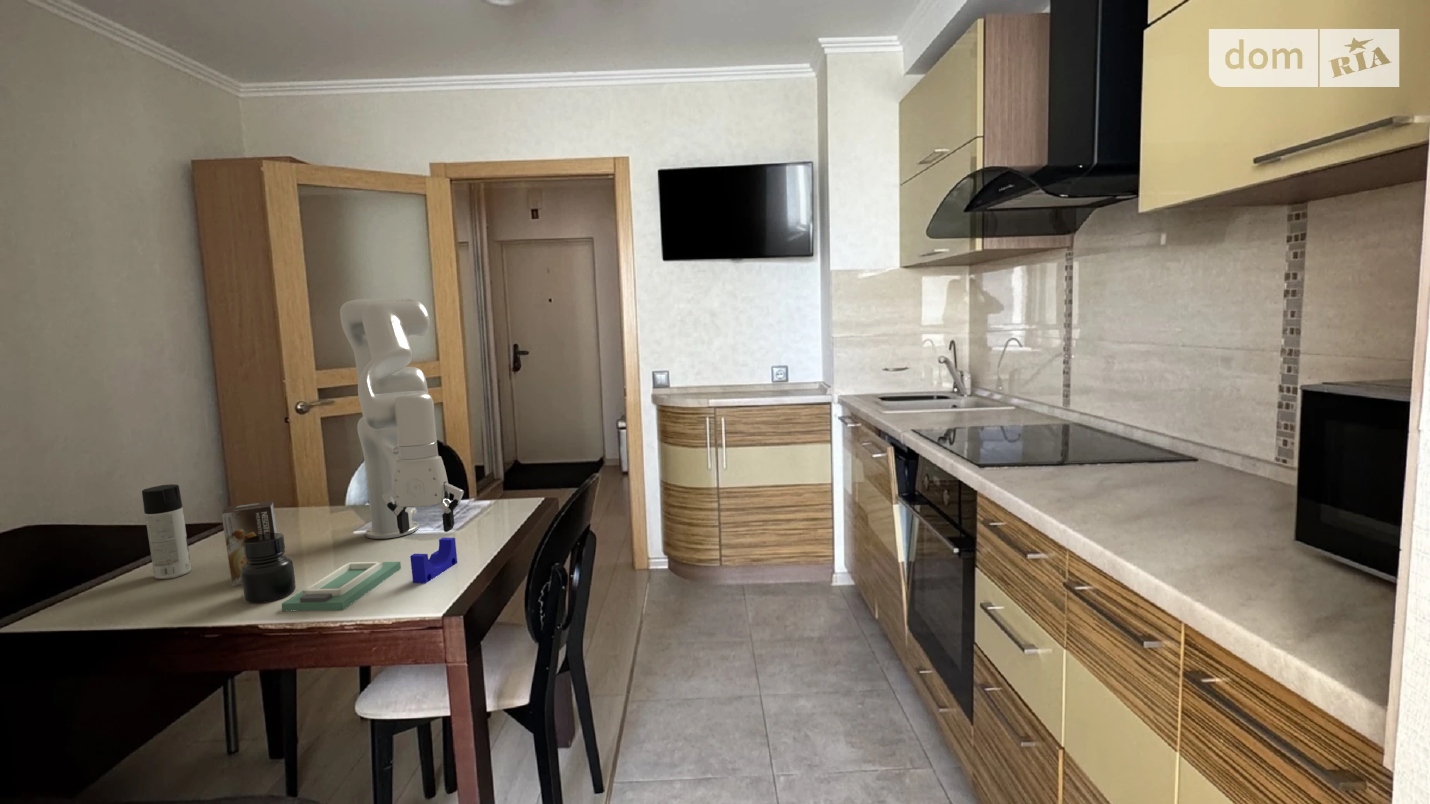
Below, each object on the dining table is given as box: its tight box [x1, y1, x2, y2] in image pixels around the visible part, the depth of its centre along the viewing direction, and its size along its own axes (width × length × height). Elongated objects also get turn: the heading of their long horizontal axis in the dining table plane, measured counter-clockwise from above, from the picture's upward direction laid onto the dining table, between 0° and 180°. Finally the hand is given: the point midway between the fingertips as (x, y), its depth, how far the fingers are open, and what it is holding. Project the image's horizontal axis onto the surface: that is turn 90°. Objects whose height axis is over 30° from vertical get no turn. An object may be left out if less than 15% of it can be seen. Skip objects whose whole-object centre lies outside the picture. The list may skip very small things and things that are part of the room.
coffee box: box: [221, 500, 278, 587], centre depth 151 cm, size 9×6×16 cm
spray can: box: [141, 483, 192, 580], centre depth 155 cm, size 7×7×20 cm
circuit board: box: [281, 561, 402, 612], centre depth 144 cm, size 22×12×3 cm, turn 177°
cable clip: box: [409, 537, 458, 584], centre depth 151 cm, size 12×4×6 cm, turn 169°
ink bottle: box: [241, 532, 296, 604], centre depth 141 cm, size 10×9×12 cm
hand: (426, 531), depth 149 cm, fingers open, 9 cm apart
